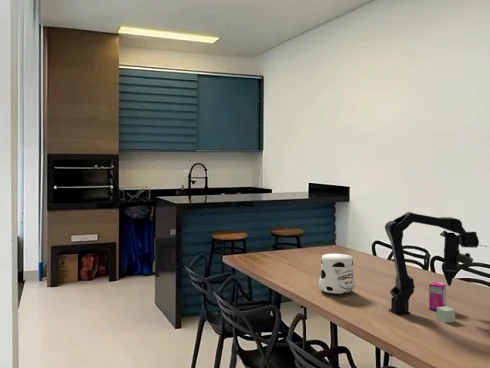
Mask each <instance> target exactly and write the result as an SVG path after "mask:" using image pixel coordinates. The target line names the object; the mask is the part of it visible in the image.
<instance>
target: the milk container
mask: <svg viewBox="0 0 490 368" xmlns="http://www.w3.org/2000/svg"><path fill="white" fill-rule="evenodd" d="M318 285H319V289H320V291H321V292H323V293H325V294H328V295H332V296H333V295H335V296H344V295H345V296H347V295H350V294H351V293H353V292H354V290H355V285H356V284H355V278H354V258H353V256H352V255H349V254H344V253H326V254H322V256H321V263H320V276H319V280H318Z"/></svg>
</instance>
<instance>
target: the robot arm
mask: <svg viewBox="0 0 490 368" xmlns="http://www.w3.org/2000/svg"><path fill="white" fill-rule="evenodd" d="M413 223H417V224H423V225H426V226H427V225H428V226H433V227H437V228H438V227H439V228H441V229H444V230H443V231H442V232H441V233H440V234H439V236H441V237H444V244H443V246H444V247H443V259H442V261H443V262H442V264H441V271H442V274H443V277H444V278H445V282H446V285H447V286H449V287H451V286H452V284H453V283H452V282H453V278H454V275H456V274H457V273H458V272H459V265H460V263H461V264H463V265H466V266H467V267H469V268H470V267H471V266H472V264H473V262H474V258H473V257H471V254H470V253H469V252H465V254H464V253H461V252H460V251H461V250H460V246H461V248H468V249H469V248H472V249H473V248H478V247H479V245H480V240H479V238H478V235H477V232H476V231H466V230H465V228H464V227H463V222H462V221H461V220H460V219H459V218H456V217H455V218H454V217H451V216H450V217H449V216H447V217H446V216H442V217H441V216H440V217H436V216H430V215H426V214H425V215H424V214H419V213H414V212H411V211H407V212H405V213H404V214H402V215H401V216H398V217H397V218H395V219H393V220H390V221H387V222H386V223H385V225H384V230H385V233H386V236H387V237H388V239H389V242H390V245H391V248H392V249H391V250H392V255H393V260H394V265H395V267H394V268H395V273H396V277H395V286H394V287H393V288H391V290H389V292H390V295H391V296H392V297H391V300H390V301H391V308H389V309H388V311H389V312H391V313H393V314H395V315H396V316H400V315H401V316H402V315H410V314H411V312H410V310H409V309H410V308H409V305H410V302H409V301H410V298H411V296H412V295H413V294H414V293H415V289H416V287H415V283H414V282H415V280H414V278H413V277H412V276H410V275H409V273H408V270H407V269H408V268H407V265H406V259H405V253H404V252H405V251H404V247H403V238H404V231H405V230H406V229H408V227H409V226H411V224H413ZM448 231H450V232H448Z"/></svg>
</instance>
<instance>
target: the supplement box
mask: <svg viewBox="0 0 490 368" xmlns="http://www.w3.org/2000/svg"><path fill="white" fill-rule="evenodd" d="M428 288H429V290H428V291H429V294H428V298H429V299H428V300H429V301H428V304H429V306H428V307H429V308H428V309H429V310H431V311H436V312H437V307H444V306H447V282H446V283H445V282H439V281H438V282H437V281H432V282H430V283H429V284H428Z"/></svg>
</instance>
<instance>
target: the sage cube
mask: <svg viewBox="0 0 490 368" xmlns="http://www.w3.org/2000/svg"><path fill="white" fill-rule="evenodd" d="M436 320H437V321H440V322H442V323H444V324H448V323H455V322H456V309H454V308H452V307H450V306H447V305H446V306H444V307H437V311H436Z"/></svg>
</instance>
